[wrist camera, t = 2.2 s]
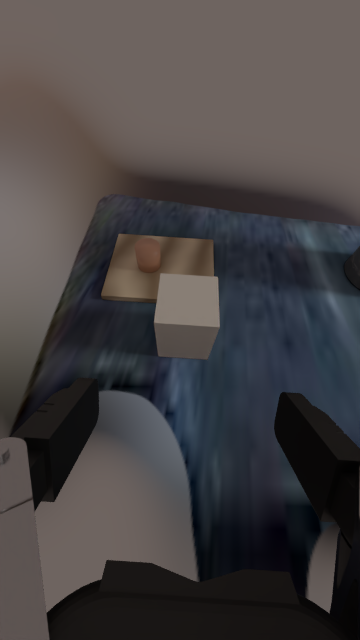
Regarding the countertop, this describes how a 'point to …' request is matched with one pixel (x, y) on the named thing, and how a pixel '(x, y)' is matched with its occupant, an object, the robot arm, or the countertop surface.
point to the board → (175, 259)
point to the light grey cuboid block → (186, 316)
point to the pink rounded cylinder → (148, 255)
